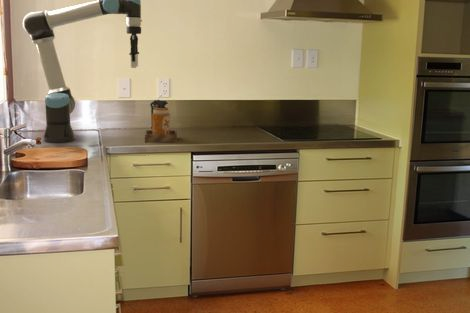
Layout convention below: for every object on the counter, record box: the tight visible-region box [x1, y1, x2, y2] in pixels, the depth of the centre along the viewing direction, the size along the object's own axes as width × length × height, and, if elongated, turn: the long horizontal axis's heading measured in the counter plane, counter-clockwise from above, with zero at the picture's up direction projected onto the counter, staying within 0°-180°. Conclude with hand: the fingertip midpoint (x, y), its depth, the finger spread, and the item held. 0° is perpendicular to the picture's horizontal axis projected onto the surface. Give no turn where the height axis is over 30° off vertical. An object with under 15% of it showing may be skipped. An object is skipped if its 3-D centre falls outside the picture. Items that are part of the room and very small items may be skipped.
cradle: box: [144, 129, 178, 144], centre depth 284 cm, size 16×14×4 cm
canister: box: [149, 98, 171, 135], centre depth 283 cm, size 9×11×20 cm
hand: (134, 67), depth 290 cm, fingers open, 13 cm apart
